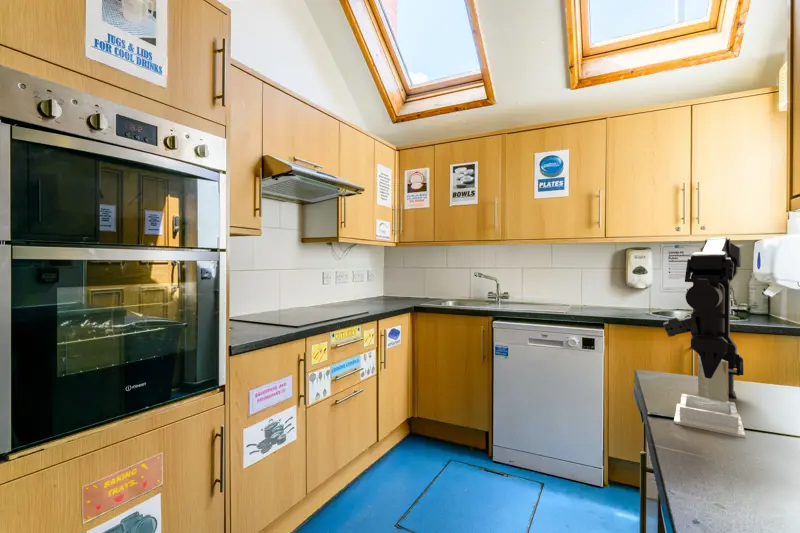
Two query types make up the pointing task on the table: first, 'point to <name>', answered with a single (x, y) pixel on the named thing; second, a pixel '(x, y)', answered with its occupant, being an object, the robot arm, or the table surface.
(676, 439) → the table surface
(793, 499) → the table surface
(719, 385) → the skincare box
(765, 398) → the table surface
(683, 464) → the table surface
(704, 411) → the square open tray
